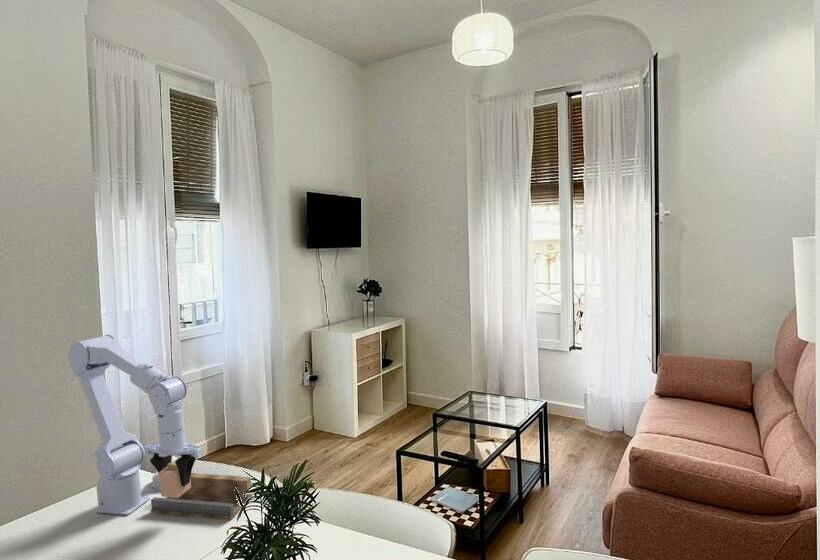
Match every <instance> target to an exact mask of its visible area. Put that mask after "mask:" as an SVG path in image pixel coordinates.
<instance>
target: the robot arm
mask: <svg viewBox="0 0 820 560" xmlns="http://www.w3.org/2000/svg"><path fill="white" fill-rule="evenodd" d="M67 358H68V361H69V363H70V367H71V368H72V369H71V370H72V371H73V375H74V376H75V377H76V378H77V379H78V382H79V384H80V387H81V389H82V392H83V395H84V397H85V400H86V403H87V405H88V408H89V410H90V413H91V415H92V417H93V420H94V423H95V426H96V429H97V431H98V434H99V436H100V439H101V442H100V443H99V445H98V446H97V449H96V450H95V452H94V455H95V456H94V457H95V460H96V470H97V472H98V474H99V475H100V476H99V478H98V480H97V483H96V497H97V505H98V508H97V509H95V512H96V513H101V514H102V513H103V514H113V515H123V516H128V515H130V514H131V513H133V512H134V511H135V510H137V509H138V508H139V507H141V506H142V505H144V504H145V503H146V502H148V501H149V500H151V498H150V496H142V490H141V479H140V469H141V468H142V463H143V462H144V460H145V458H146V456H149V455H151V454H152V455H153V457H151V458H150V460H149V461H150V463H151V465H152V464H153V466H154V467H155V468H154V469H155V470H156V472H158V473H159V472H160V471H162V470H163V469H165V468H166V467H168V466H167V464H169V463H171V461H172V456H180V457H178V458H177V460H176V461H175V463H176V465H177V467H178V470H179V474H180V481H181V485H182V486H186V485H187V484H188V483H189V482H190V476H191V473H192V471H193V467H194V465H195V461H196V460H197V459H199V458H200V457H201V456H203V455H204V453H203V446H199V445H198V446H197V445H194V444H192V443H191V444H190V443H188V442H186V441H187V440H186V439H187V438H186V429H185V428H186V427H185V418H184V417H185V416H184V408H183V399H184V398H186V396H187V393H188V388H187V384H186V383H185V381H184V380H183V379H182V378H181V377H180V376H177V375H175V376H171V375H167V374H166V373H164V372H162V371H161V370H160V369H158V368H156V367H155V366H154V364H153V363H151V362H143V363H140V362H139V361H138V360H137V359H136V358H134V356H132V355H131V354H130V353H129V352H127V351H126V350H125V349H124V348H122V345H121V341H120V339H117V337H115V336H114V335H113V334H105V335H103V336H97V337H94V338H89V339H85V340H81V341H79V340H77V341H74V342H73V343H72V344H71V345H70V347H69V350H68V352H67ZM110 366H113V367H115V368H117V369H118V370H119V371H122V372H124V373H125V374H126V375H129V379H130V380H129V381H130V382H131V383H132V384H133V385H134V386H135V387H137V388H138V389H140V390H141V391H143V392H144V393H146V394H147V395H148V399H149V402H150V403H151V404H152V407H153V412H154V414H155V415H156V420H157V433H158V442H159V443H149V444H147V445H145V446H143V445H142V443H141V442H139V440H138V437H137V435H136V434H133V433H131V432H128V431H125V428H124V425H123V423H122V420H121V418H120V415H119V412H118V409H117V407H116V404H115V403H114V400H113V397H112V395H111V394H112V393H111V392H110V389H109V386H108V384H107V381H106V379H105V376H104V375H105V372H106V370H107V369H108V368H110ZM119 446H120V447H119ZM116 447H117V448H116ZM114 448H115V449H114ZM153 466H152V467H153Z"/></svg>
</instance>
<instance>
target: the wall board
mask: <svg viewBox="0 0 820 560" xmlns="http://www.w3.org/2000/svg"><path fill="white" fill-rule="evenodd" d="M250 478H251V479H250ZM190 479H191V488H190V489H188V490H187V491H186V492H185V493H183V494H182V495H181V496H180V497H178V498H173V497H166V498H168V499H180V500H193V501H205V502H218V503H230V504H234V514H233V515H232V516H222V515H210V514H199V513H187V512H176V511H164V510H153V509H152V508H151V510H150V513H151V514H156V515H157V514H158V515H167V514H168V516H169V515H170V516H178V515H180V516H181V517H189V516H194V517H193V518H201V517H203V519H216V520H225V521H232V520H233V519H234V518H235V517H236V516H237V515H238V514H239V513H240V512H241V511H240V509H241V506H240V505H239V503H238V500H236V499H237V498H236V493H235V491H234V487H236V488H237V490H238V491H239V495H240V497H241V499H242V503H243V504H245V502H246V500H247V499H248V498H250V497H252V498H253V493H252V494H247V495H246V497H243V493H244V492H245V491H246V490H247V489H248V488H249V487H250V485H251V486H252V477H251V476H237V475H236V476H235V475H226V474H225V475H224V474H223V475H222V474H210V473H196V472H191V476H190ZM237 503H238V504H237ZM239 511H240V512H239ZM238 512H239V513H238ZM180 516H179V517H180Z"/></svg>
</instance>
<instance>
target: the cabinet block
mask: <svg viewBox="0 0 820 560" xmlns="http://www.w3.org/2000/svg"><path fill="white" fill-rule="evenodd" d="M167 466H168V467H166V468H165V469H163V470H162V471H160V472H159V478H160V488H161V490H160V496H161V498H167V497H173V498H178V497H180V496H181V495H182V494H183V493H185V492H186V491H187V490H188V489H190V488H191V479H190V482H189V483H188V484H187V485H186V486H182V485H181V481H180V474H179V470H178V467H177V465H176V463H169V464H167Z"/></svg>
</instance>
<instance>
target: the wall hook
mask: <svg viewBox="0 0 820 560" xmlns="http://www.w3.org/2000/svg"><path fill="white" fill-rule="evenodd" d="M177 459H178V457H176V455H172V461H171V463H175V461H176V460H177ZM151 466H152V468H154V469H156V468H155V467H154V466H153V464H152V463H151ZM151 480H152V487H153V489H155V490H157V491H158V490H159V491H161V488H160V478H159V473H158V471H156V472H155V473H154V474H153V475H152V479H151Z"/></svg>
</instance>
